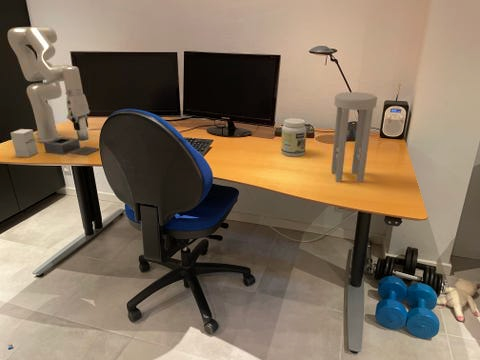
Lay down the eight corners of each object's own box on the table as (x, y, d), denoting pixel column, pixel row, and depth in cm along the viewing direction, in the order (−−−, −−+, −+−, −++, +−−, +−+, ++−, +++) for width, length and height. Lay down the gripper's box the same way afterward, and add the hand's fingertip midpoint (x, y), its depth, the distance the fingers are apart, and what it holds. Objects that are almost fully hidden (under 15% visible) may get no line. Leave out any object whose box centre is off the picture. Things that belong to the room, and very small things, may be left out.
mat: (71, 153, 194) (70, 152, 193) (84, 147, 202) (84, 146, 202) (86, 155, 190) (86, 154, 190) (99, 149, 199) (99, 148, 199)
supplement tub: (297, 159, 183) (299, 125, 176) (276, 154, 189) (277, 121, 183) (309, 152, 192) (311, 119, 185) (288, 147, 198) (290, 116, 192)
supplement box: (28, 157, 188) (22, 133, 183) (16, 156, 190) (9, 132, 185) (38, 152, 195) (33, 129, 190) (26, 151, 196) (20, 128, 191)
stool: (360, 170, 169) (370, 91, 155) (369, 184, 155) (381, 99, 141) (325, 169, 170) (332, 91, 155) (332, 183, 155) (340, 99, 141)
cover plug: (76, 140, 192) (71, 117, 187) (83, 137, 196) (78, 114, 192) (84, 141, 190) (79, 118, 185) (91, 138, 195) (87, 115, 190)
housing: (45, 152, 196) (43, 143, 194) (63, 145, 206) (61, 136, 204) (63, 154, 192) (61, 145, 190) (80, 147, 202) (78, 138, 200)
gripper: (67, 96, 175) (75, 133, 182) (92, 90, 190) (98, 124, 197) (55, 95, 178) (63, 132, 185) (81, 89, 192) (87, 123, 200)
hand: (81, 128), depth 191 cm, fingers closed on cover plug, 5 cm apart
